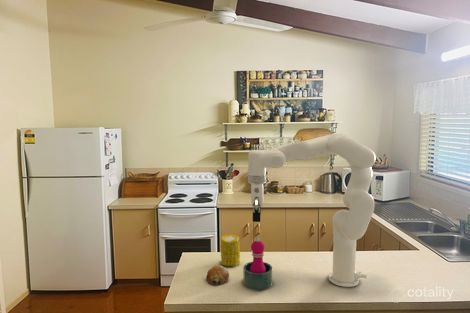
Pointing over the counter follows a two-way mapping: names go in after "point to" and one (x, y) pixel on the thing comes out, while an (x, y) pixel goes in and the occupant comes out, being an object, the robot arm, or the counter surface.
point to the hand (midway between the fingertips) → (256, 218)
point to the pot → (257, 277)
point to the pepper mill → (257, 257)
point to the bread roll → (217, 275)
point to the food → (230, 250)
